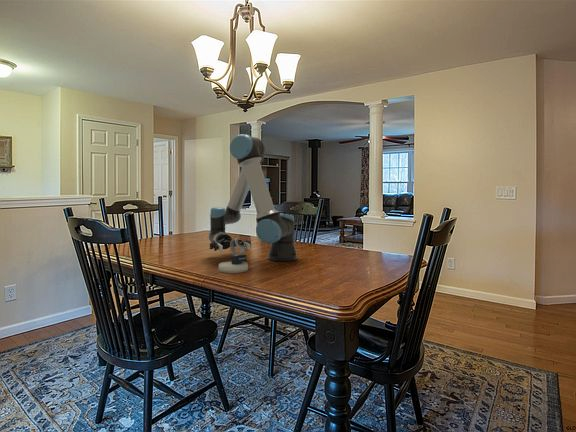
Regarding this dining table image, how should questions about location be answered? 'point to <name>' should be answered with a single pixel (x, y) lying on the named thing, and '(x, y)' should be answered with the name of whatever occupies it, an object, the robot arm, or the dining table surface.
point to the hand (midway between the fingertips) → (235, 248)
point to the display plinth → (233, 267)
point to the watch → (238, 257)
